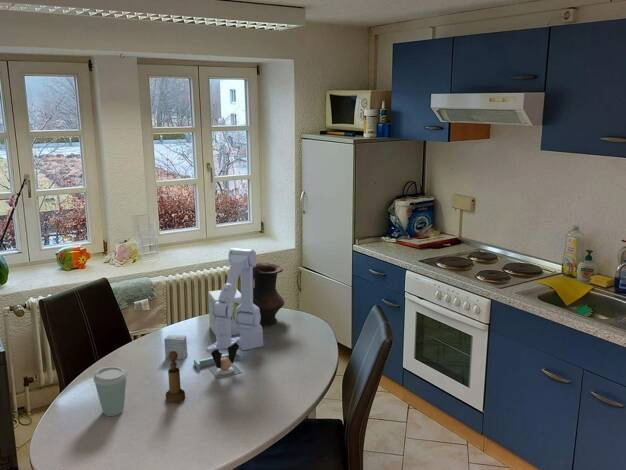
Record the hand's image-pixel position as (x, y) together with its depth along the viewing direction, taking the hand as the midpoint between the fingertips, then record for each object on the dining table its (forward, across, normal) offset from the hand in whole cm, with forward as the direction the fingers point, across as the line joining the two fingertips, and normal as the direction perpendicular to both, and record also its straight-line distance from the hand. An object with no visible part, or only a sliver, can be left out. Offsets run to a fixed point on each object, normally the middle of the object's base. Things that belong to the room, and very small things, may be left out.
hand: (224, 364), depth 225 cm
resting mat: (+2, 0, 0) cm, 2 cm away
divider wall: (+2, -2, -8) cm, 8 cm away
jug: (+3, -41, -27) cm, 50 cm away
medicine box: (+3, +7, -24) cm, 25 cm away
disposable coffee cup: (+3, +45, -1) cm, 45 cm away
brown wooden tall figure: (+3, +25, +6) cm, 26 cm away
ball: (+2, 0, 0) cm, 2 cm away
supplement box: (+3, -24, -32) cm, 40 cm away
